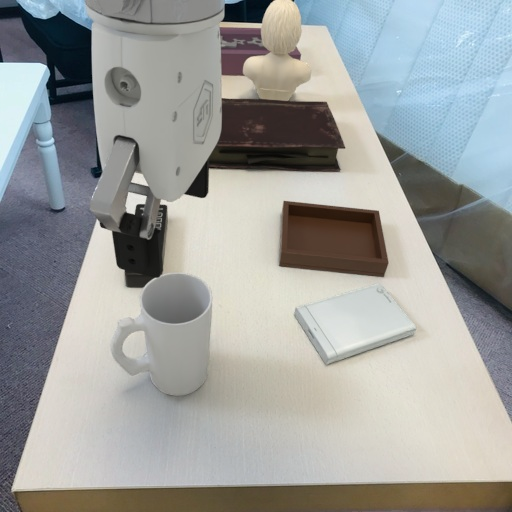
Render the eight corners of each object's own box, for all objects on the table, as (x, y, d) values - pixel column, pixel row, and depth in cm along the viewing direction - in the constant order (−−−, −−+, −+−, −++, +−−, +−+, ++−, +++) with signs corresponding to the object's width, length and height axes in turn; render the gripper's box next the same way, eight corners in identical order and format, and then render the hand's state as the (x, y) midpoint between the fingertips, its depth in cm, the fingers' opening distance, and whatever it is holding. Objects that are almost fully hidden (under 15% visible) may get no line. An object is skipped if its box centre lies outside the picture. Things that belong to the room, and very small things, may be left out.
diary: (195, 117, 98) (195, 92, 95) (322, 121, 101) (326, 98, 98) (194, 171, 85) (194, 144, 81) (341, 174, 87) (346, 149, 84)
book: (284, 48, 128) (286, 28, 125) (298, 76, 116) (301, 54, 113) (182, 46, 124) (182, 25, 120) (186, 74, 112) (186, 52, 109)
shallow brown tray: (383, 277, 69) (388, 263, 68) (279, 266, 69) (281, 252, 68) (374, 224, 78) (379, 210, 76) (281, 214, 78) (283, 200, 76)
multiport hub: (125, 287, 64) (123, 274, 63) (137, 215, 75) (136, 203, 73) (161, 287, 65) (160, 274, 63) (168, 216, 75) (167, 204, 74)
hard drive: (379, 281, 66) (295, 305, 62) (417, 327, 61) (329, 357, 57) (376, 290, 68) (293, 314, 63) (413, 336, 62) (326, 365, 58)
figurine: (304, 94, 110) (320, -7, 96) (306, 114, 103) (323, 9, 89) (242, 88, 109) (249, -14, 96) (239, 108, 102) (246, 1, 89)
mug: (197, 339, 59) (197, 264, 51) (220, 385, 55) (224, 312, 47) (110, 367, 55) (95, 292, 47) (127, 419, 51) (114, 346, 43)
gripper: (157, 51, 20) (171, 324, 32) (262, -42, 33) (244, 178, 45) (-10, 20, 21) (62, 296, 33) (153, -59, 34) (163, 161, 46)
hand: (166, 228), depth 39 cm, fingers open, 9 cm apart
